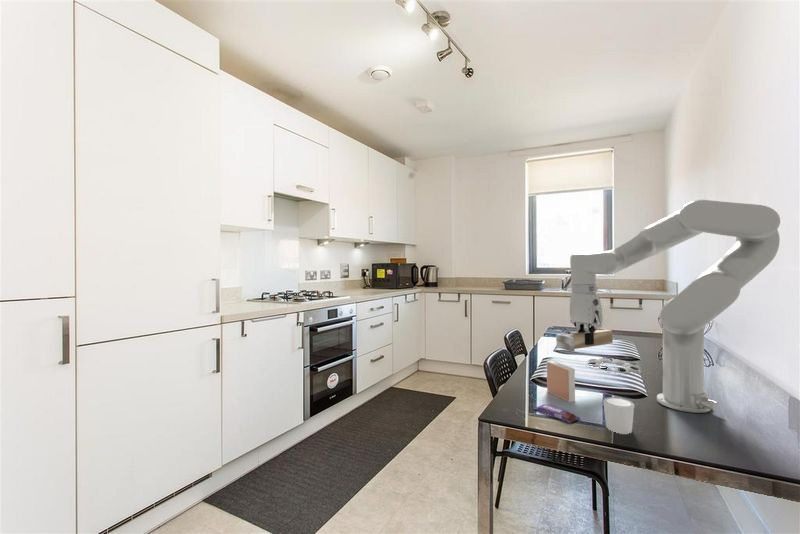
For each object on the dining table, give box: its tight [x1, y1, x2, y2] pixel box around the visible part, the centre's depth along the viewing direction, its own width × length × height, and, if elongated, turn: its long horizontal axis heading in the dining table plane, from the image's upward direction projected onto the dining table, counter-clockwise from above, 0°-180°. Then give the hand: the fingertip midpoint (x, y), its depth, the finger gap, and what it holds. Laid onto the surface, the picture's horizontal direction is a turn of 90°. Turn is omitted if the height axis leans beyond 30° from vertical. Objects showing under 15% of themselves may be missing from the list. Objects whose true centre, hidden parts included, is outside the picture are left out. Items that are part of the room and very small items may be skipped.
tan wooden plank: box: [555, 328, 614, 352], centre depth 123 cm, size 7×19×4 cm, turn 107°
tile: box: [546, 360, 576, 403], centre depth 115 cm, size 10×2×10 cm, turn 17°
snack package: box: [533, 403, 581, 424], centre depth 102 cm, size 12×2×5 cm
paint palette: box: [586, 357, 642, 374], centre depth 143 cm, size 20×20×2 cm
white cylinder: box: [602, 396, 635, 435], centre depth 93 cm, size 7×7×7 cm
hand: (586, 343), depth 123 cm, fingers closed on tan wooden plank, 2 cm apart
